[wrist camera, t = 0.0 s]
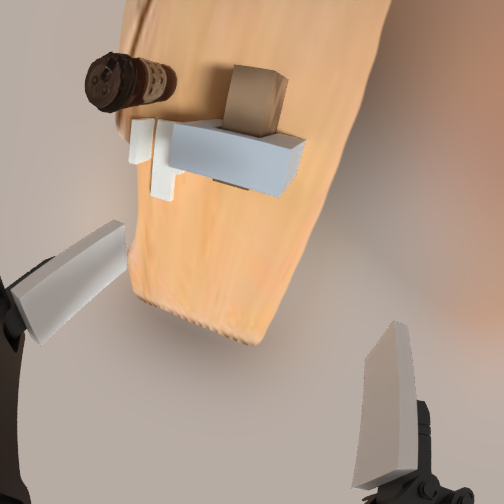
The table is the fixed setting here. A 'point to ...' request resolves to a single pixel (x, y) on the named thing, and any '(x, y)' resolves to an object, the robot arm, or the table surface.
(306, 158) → the table surface
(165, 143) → the cradle
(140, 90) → the coffee cup
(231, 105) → the walnut bar
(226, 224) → the table surface
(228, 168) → the bore block
